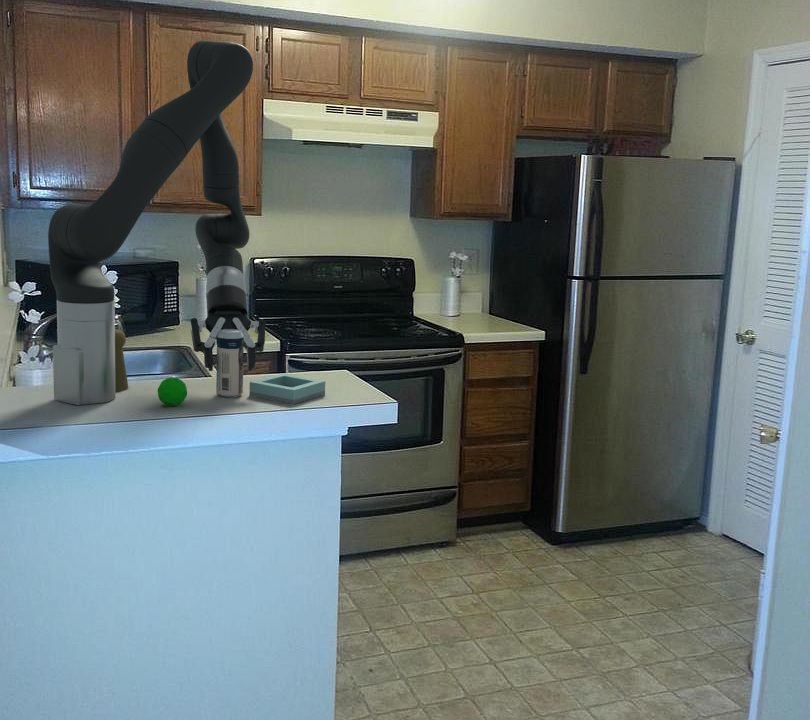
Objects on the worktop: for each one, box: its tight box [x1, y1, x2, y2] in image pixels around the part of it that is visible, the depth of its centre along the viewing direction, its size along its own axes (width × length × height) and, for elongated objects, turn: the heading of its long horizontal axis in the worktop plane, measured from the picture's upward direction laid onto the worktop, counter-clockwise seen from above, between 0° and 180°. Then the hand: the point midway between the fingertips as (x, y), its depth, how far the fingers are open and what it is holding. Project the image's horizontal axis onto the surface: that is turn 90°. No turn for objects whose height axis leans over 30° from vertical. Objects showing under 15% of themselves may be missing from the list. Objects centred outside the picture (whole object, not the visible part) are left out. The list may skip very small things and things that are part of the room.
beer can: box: [215, 329, 245, 398], centre depth 152 cm, size 5×5×12 cm
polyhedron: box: [156, 376, 188, 407], centre depth 143 cm, size 5×5×5 cm
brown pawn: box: [115, 328, 129, 393], centre depth 152 cm, size 6×6×11 cm
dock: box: [248, 373, 326, 405], centre depth 155 cm, size 10×10×3 cm
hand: (230, 368), depth 150 cm, fingers open, 6 cm apart
